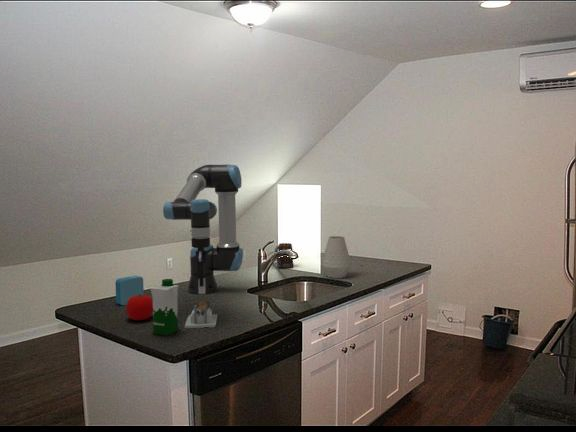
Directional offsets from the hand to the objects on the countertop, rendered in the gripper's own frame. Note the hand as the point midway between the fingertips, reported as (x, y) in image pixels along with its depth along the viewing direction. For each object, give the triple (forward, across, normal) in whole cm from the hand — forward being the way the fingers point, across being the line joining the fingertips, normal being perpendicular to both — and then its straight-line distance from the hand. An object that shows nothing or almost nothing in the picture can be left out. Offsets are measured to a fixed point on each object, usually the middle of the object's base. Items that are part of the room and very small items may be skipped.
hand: (202, 293), depth 203 cm
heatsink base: (+11, +4, 0) cm, 12 cm away
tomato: (+11, -3, -26) cm, 29 cm away
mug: (+14, -102, +42) cm, 111 cm away
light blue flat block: (+12, -29, -36) cm, 48 cm away
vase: (+13, -75, +71) cm, 104 cm away
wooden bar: (+6, +3, 0) cm, 7 cm away
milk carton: (+11, +14, -13) cm, 22 cm away
